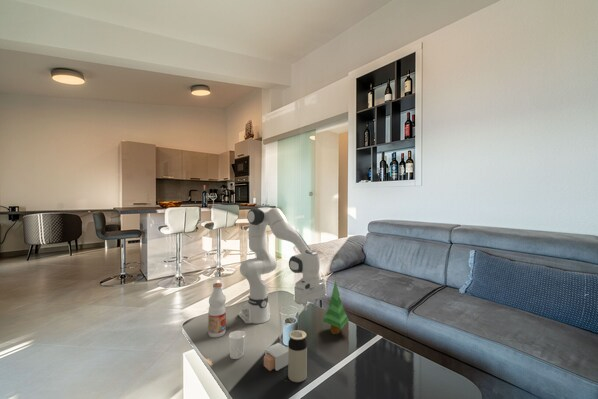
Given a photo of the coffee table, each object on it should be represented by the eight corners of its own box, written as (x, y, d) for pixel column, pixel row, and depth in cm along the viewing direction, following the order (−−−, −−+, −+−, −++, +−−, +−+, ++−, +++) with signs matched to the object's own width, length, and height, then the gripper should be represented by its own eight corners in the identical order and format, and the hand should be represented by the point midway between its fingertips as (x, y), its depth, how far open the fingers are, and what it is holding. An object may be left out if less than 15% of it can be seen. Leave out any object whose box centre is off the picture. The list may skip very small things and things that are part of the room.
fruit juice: (208, 330, 150) (209, 282, 150) (225, 328, 152) (225, 280, 153) (207, 339, 141) (208, 287, 141) (225, 336, 143) (226, 285, 144)
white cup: (239, 348, 132) (239, 328, 132) (248, 355, 126) (248, 334, 126) (225, 355, 126) (225, 334, 126) (234, 362, 121) (234, 340, 121)
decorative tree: (339, 324, 159) (339, 275, 159) (352, 337, 144) (352, 282, 144) (319, 327, 154) (319, 277, 155) (330, 341, 139) (330, 285, 140)
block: (263, 366, 118) (263, 356, 118) (271, 362, 121) (271, 352, 121) (269, 371, 114) (269, 360, 115) (277, 366, 118) (277, 356, 118)
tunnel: (265, 361, 121) (265, 348, 121) (278, 354, 126) (278, 342, 126) (276, 370, 114) (276, 357, 114) (290, 363, 120) (290, 350, 120)
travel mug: (292, 385, 106) (292, 340, 106) (285, 373, 113) (285, 331, 113) (309, 379, 109) (310, 336, 109) (302, 368, 116) (302, 328, 116)
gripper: (320, 276, 145) (319, 301, 145) (292, 284, 131) (292, 311, 131) (328, 279, 141) (328, 304, 140) (301, 287, 127) (301, 315, 126)
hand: (311, 308), depth 136 cm, fingers open, 6 cm apart
